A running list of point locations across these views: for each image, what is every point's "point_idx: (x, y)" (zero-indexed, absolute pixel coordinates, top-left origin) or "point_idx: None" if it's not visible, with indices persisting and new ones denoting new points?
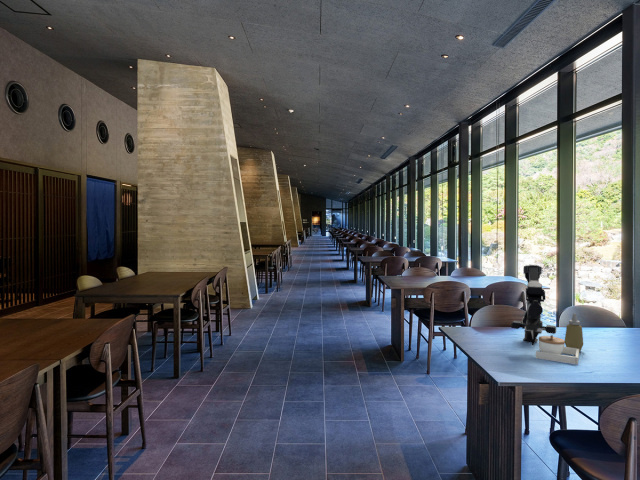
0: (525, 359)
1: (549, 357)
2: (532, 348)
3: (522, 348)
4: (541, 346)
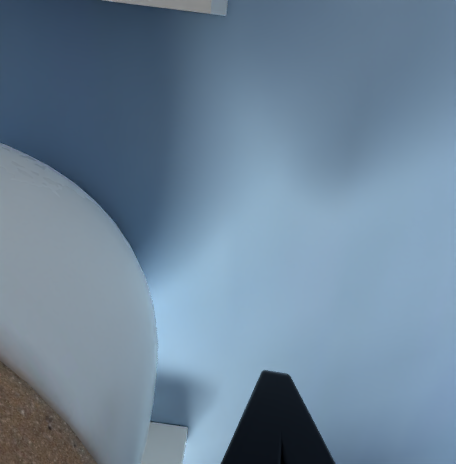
0: None
1: None
2: None
3: (375, 425)
4: (74, 249)
